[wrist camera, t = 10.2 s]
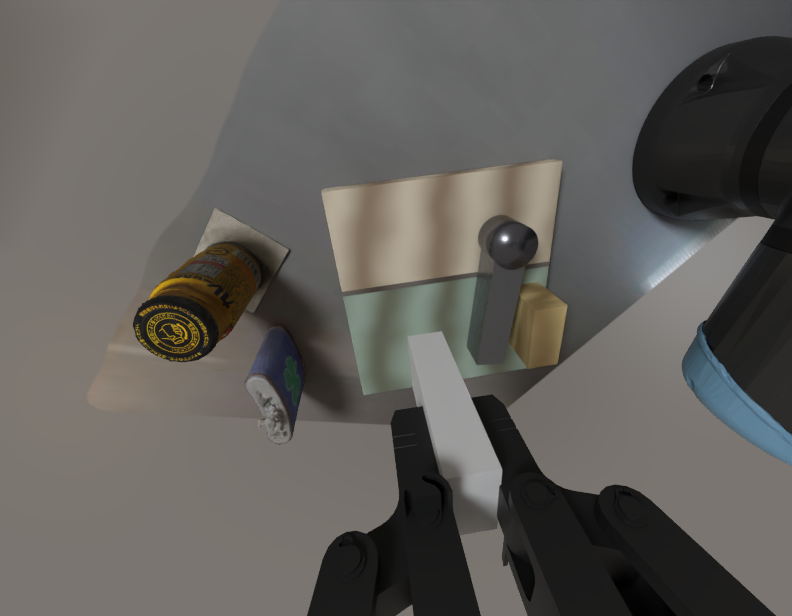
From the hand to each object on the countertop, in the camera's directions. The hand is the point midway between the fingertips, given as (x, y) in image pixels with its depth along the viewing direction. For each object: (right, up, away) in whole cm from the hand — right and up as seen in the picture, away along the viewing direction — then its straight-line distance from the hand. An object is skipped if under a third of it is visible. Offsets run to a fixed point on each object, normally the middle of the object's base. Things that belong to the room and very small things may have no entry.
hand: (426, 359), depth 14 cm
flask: (-14, -3, +24) cm, 28 cm away
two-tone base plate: (+4, +5, +22) cm, 23 cm away
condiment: (-17, +7, +18) cm, 26 cm away
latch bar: (+8, +4, +20) cm, 22 cm away
